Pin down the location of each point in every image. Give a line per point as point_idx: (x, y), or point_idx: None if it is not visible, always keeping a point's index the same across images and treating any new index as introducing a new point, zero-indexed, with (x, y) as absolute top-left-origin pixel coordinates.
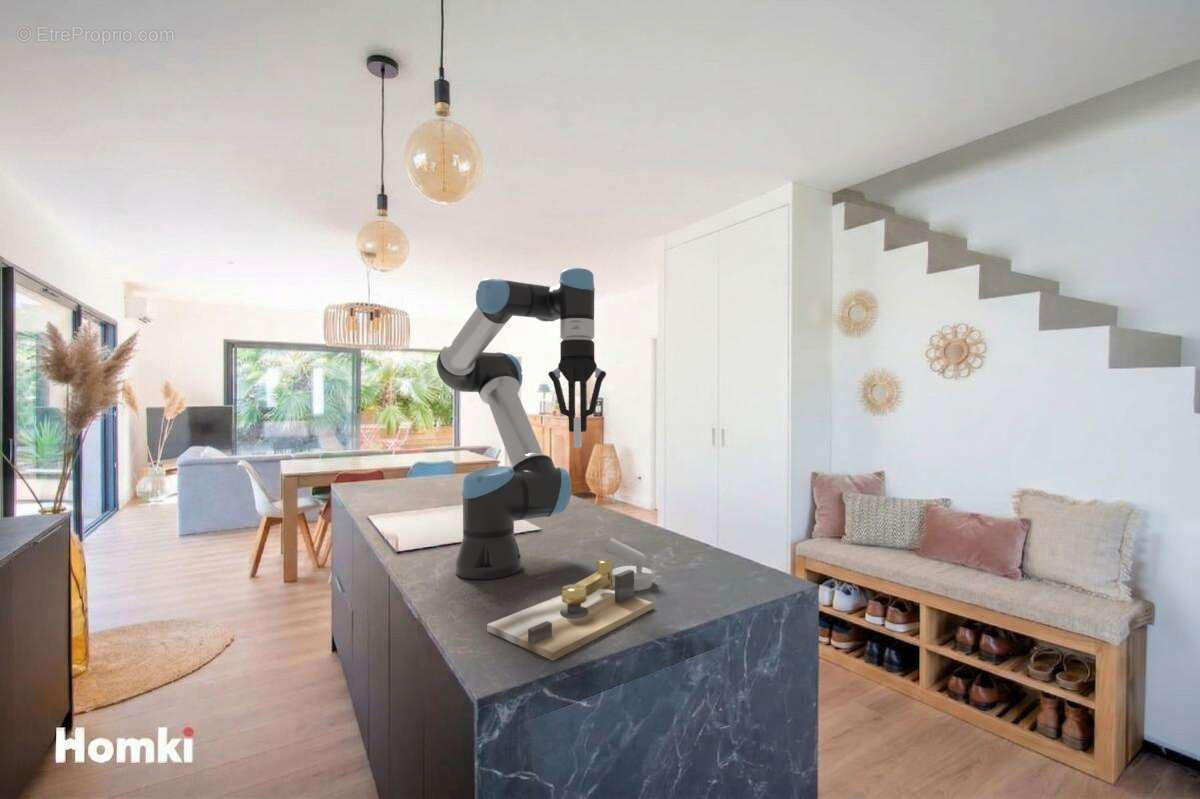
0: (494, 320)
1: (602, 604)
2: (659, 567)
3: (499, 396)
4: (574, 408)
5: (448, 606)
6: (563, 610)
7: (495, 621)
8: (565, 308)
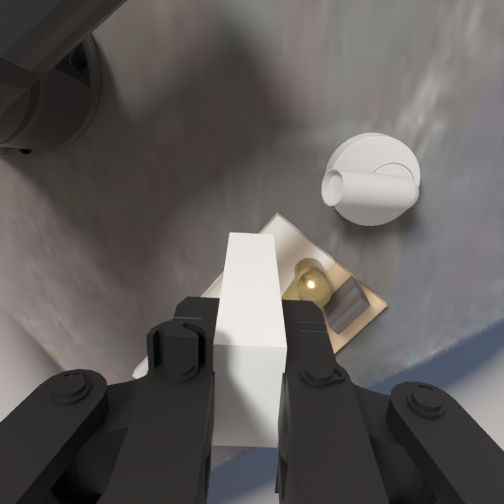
0: None
1: None
2: (459, 55)
3: None
4: (204, 486)
5: (35, 286)
6: None
7: (141, 368)
8: None
